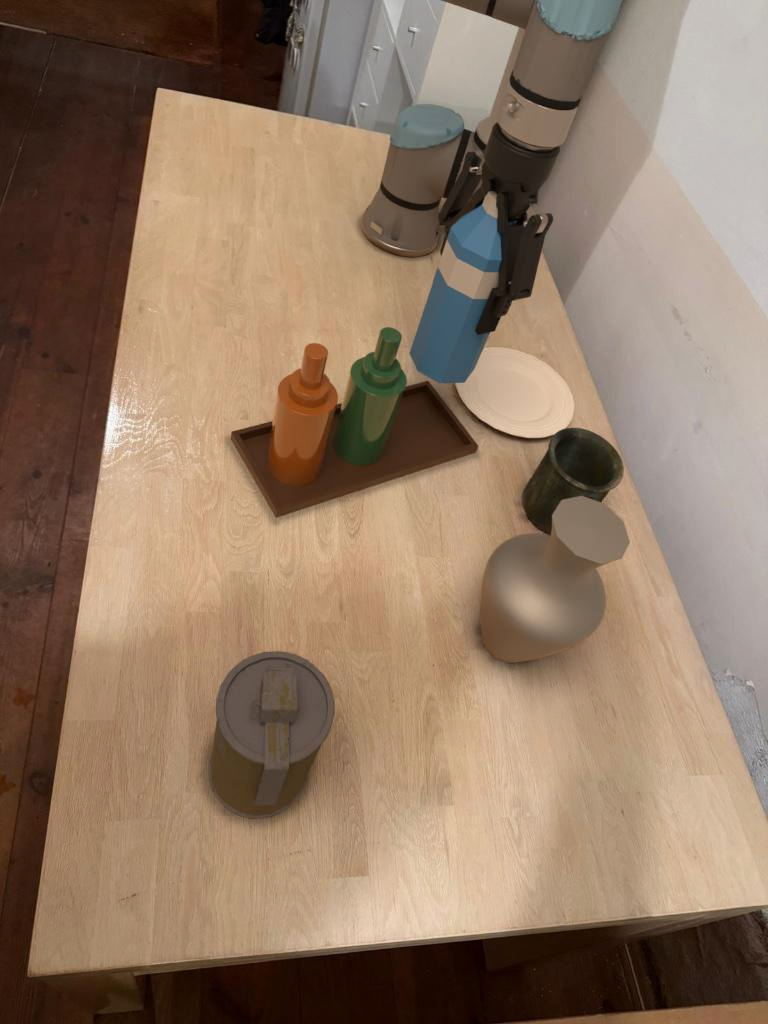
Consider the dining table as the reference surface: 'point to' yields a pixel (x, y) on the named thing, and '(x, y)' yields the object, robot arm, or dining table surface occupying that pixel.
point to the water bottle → (460, 297)
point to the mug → (571, 474)
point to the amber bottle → (302, 420)
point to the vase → (550, 583)
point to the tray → (410, 448)
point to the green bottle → (370, 402)
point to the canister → (268, 732)
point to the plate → (517, 394)
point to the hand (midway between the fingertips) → (463, 305)
